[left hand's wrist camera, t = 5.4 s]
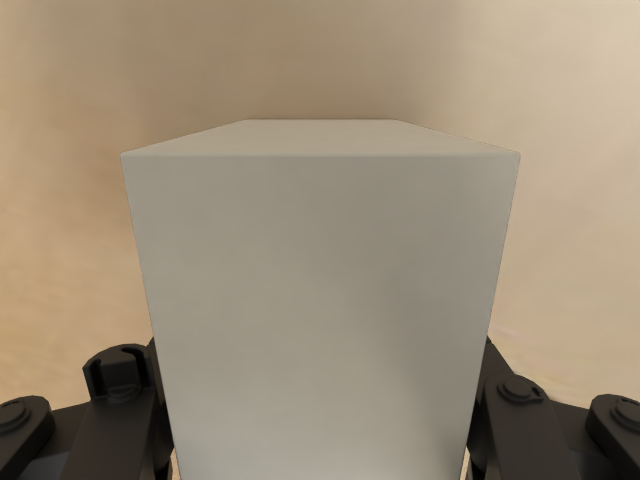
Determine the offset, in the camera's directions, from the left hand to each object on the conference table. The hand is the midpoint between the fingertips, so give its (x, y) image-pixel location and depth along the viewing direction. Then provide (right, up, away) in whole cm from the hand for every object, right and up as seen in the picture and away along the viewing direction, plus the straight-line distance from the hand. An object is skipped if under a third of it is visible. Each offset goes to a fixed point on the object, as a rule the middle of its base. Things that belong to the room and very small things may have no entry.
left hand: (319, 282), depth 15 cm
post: (0, -22, +9) cm, 23 cm away
